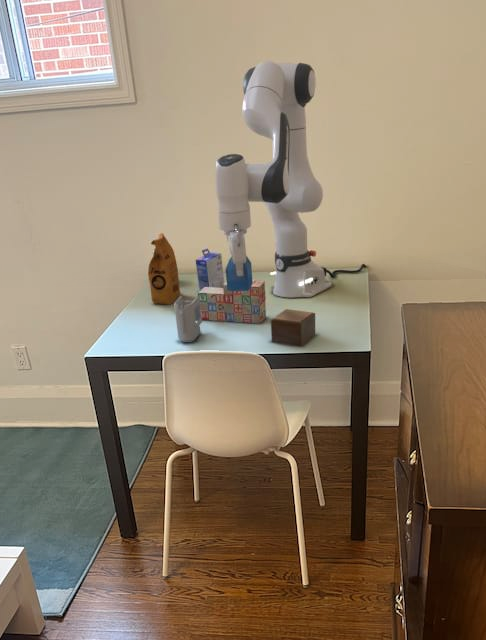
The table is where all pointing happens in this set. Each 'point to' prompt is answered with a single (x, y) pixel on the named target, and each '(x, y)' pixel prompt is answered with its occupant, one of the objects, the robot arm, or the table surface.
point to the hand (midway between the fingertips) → (238, 271)
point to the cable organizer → (188, 319)
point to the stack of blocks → (234, 304)
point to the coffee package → (163, 273)
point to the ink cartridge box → (210, 270)
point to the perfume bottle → (239, 281)
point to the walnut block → (293, 327)
